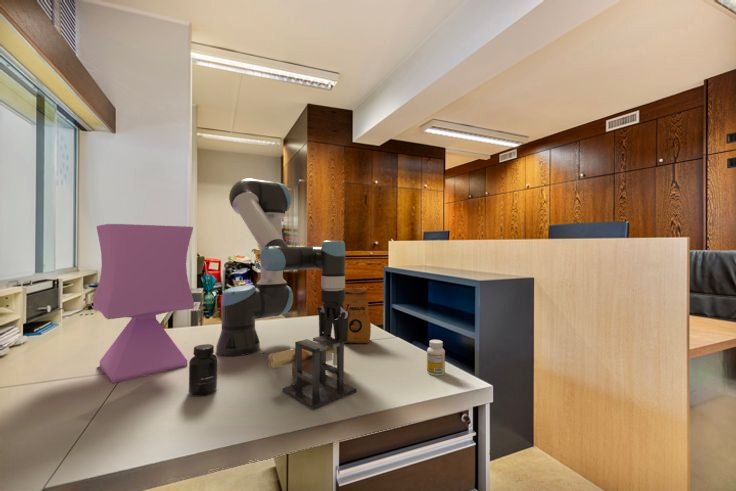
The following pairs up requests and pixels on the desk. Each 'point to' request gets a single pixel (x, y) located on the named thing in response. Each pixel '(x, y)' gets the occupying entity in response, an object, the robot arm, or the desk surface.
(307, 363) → the block
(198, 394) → the supplement bottle
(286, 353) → the air tube
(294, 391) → the collar stand
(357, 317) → the coffee package
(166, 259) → the pink table lamp
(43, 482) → the desk surface
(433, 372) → the supplement bottle
